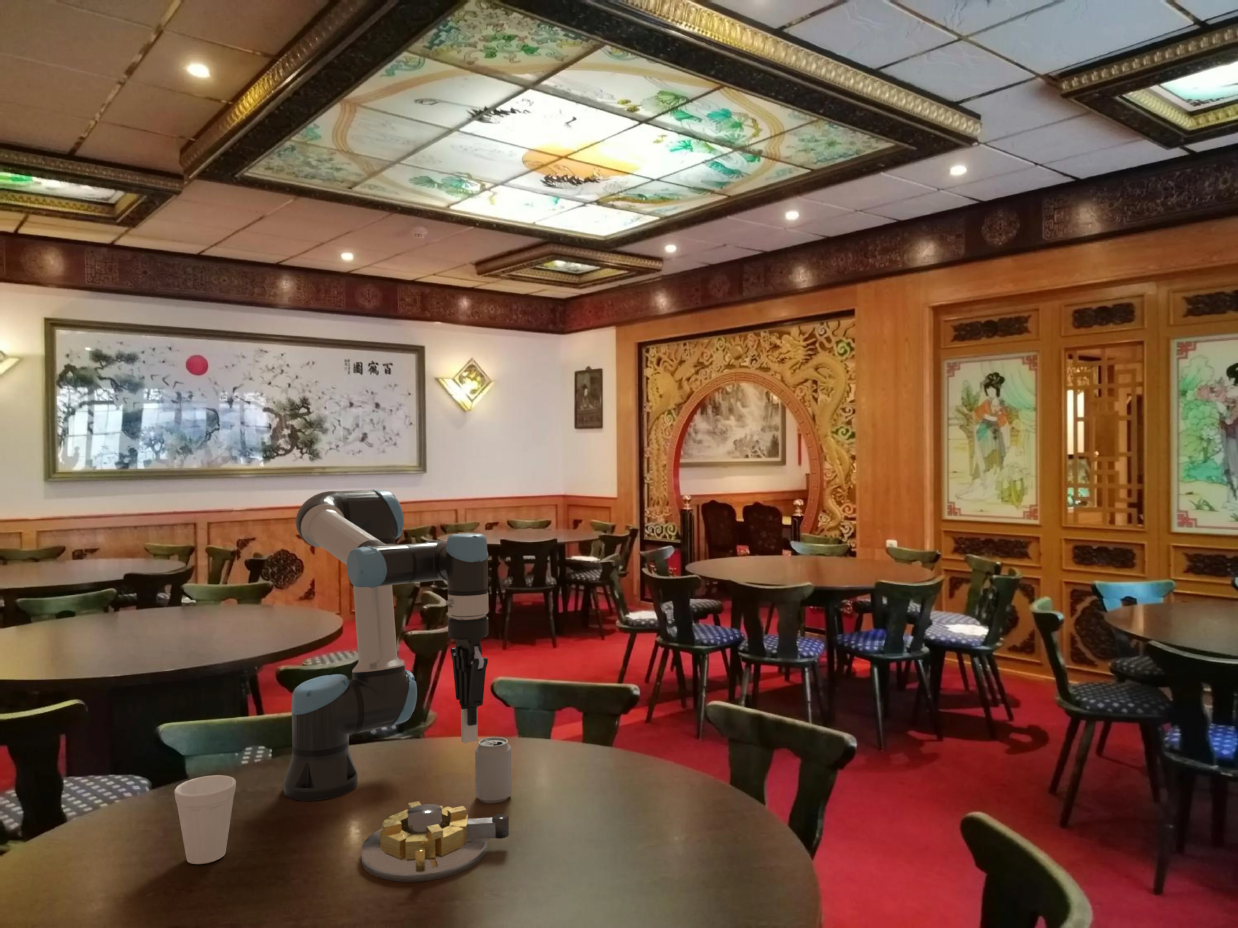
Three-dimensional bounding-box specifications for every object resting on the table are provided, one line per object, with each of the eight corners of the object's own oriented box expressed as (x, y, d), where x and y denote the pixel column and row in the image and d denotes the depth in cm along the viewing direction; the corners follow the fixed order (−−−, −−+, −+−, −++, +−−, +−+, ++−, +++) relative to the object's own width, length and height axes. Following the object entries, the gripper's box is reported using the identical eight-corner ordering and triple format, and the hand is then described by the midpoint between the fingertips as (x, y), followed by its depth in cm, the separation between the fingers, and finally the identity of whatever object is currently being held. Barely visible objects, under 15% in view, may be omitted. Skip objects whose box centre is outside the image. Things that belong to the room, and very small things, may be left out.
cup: (205, 874, 147) (204, 798, 147) (161, 865, 150) (160, 791, 150) (249, 850, 156) (248, 778, 156) (207, 842, 160) (206, 772, 160)
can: (504, 805, 175) (504, 747, 175) (470, 803, 177) (469, 745, 177) (516, 792, 183) (515, 735, 183) (483, 789, 184) (482, 733, 184)
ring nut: (375, 860, 146) (375, 836, 146) (388, 824, 161) (388, 802, 161) (508, 852, 149) (508, 828, 149) (509, 817, 164) (509, 795, 164)
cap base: (343, 847, 157) (343, 806, 157) (454, 816, 170) (453, 779, 170) (390, 894, 139) (389, 848, 139) (509, 856, 152) (508, 814, 152)
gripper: (437, 613, 166) (438, 735, 165) (462, 622, 154) (463, 754, 154) (473, 609, 169) (475, 728, 169) (500, 618, 158) (502, 746, 158)
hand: (469, 740), depth 162 cm, fingers closed
